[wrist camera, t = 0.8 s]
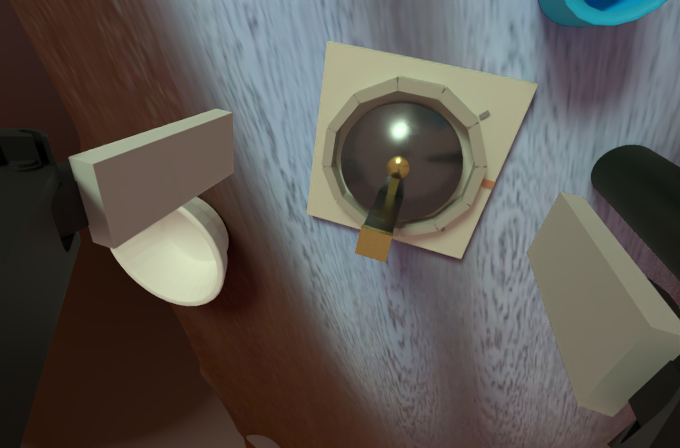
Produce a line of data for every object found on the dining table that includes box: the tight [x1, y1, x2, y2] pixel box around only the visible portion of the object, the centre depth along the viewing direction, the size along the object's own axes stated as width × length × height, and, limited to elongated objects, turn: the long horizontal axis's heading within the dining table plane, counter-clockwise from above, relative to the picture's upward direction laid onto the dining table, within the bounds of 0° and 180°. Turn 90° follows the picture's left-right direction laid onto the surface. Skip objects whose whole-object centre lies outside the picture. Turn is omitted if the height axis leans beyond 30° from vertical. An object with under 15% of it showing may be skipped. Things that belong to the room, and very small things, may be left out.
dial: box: [341, 101, 463, 262], centre depth 36 cm, size 14×14×11 cm
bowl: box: [110, 197, 229, 306], centre depth 55 cm, size 21×21×8 cm
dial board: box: [307, 41, 538, 259], centre depth 40 cm, size 22×22×4 cm
